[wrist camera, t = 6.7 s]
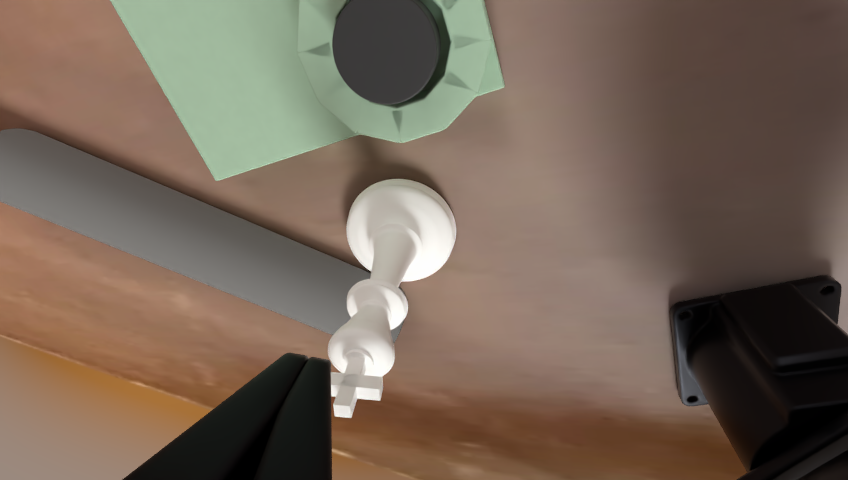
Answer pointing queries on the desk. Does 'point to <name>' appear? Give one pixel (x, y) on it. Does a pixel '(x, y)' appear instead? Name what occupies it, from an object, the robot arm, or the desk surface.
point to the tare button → (386, 48)
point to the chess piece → (385, 280)
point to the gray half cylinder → (174, 230)
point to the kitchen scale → (294, 75)
